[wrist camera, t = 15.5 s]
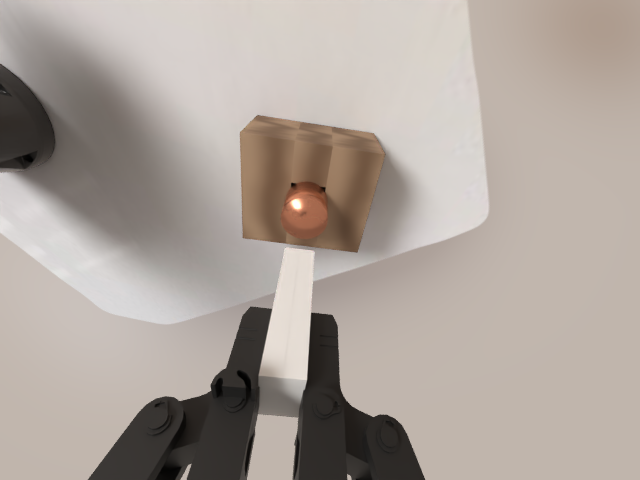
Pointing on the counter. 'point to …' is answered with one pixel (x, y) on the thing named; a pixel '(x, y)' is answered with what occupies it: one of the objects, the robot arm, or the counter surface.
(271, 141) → the hitch block
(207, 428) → the robot arm
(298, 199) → the copper cylinder with shaft
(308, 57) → the counter surface
